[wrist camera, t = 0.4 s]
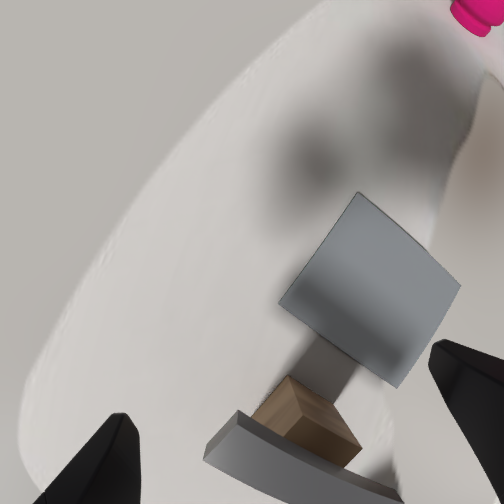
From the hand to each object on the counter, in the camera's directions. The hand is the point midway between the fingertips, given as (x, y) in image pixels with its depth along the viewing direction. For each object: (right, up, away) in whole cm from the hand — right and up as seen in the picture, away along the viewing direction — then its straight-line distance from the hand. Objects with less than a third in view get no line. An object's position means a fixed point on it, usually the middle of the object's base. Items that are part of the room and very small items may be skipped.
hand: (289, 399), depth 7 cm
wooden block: (+2, -8, +13) cm, 16 cm away
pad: (+9, +1, +14) cm, 16 cm away
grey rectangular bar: (+2, -7, +5) cm, 9 cm away
